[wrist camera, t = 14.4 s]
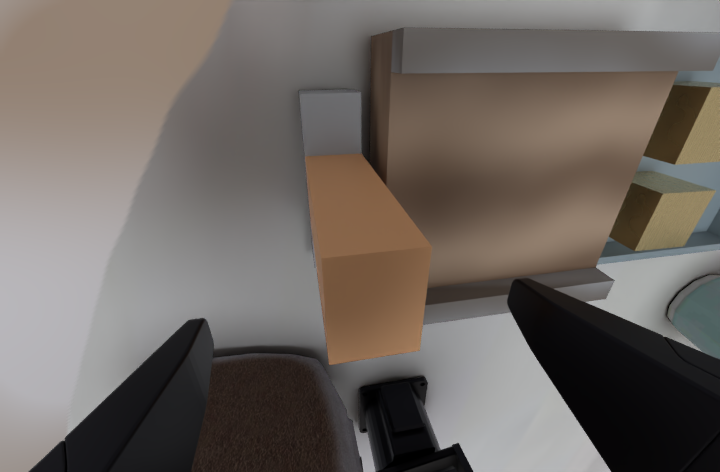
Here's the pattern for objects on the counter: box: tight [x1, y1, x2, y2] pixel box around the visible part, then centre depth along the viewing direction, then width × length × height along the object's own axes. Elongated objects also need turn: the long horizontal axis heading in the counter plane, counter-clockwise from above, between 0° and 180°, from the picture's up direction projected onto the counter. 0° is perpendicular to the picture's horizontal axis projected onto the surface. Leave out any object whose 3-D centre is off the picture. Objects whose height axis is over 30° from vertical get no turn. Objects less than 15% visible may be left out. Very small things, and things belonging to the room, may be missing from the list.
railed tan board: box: [370, 28, 720, 325], centre depth 19 cm, size 15×15×6 cm
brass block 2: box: [609, 171, 716, 251], centre depth 22 cm, size 4×4×4 cm
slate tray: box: [597, 57, 720, 265], centre depth 23 cm, size 14×16×2 cm
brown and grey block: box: [299, 89, 432, 365], centre depth 15 cm, size 10×3×12 cm, turn 179°
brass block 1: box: [643, 81, 720, 165], centre depth 19 cm, size 4×4×4 cm
